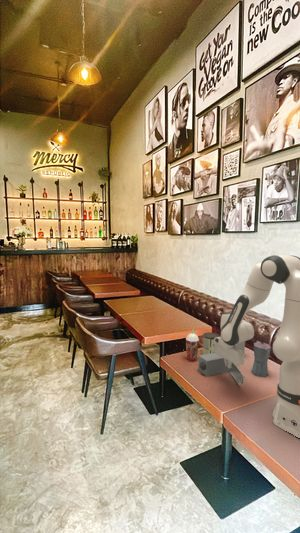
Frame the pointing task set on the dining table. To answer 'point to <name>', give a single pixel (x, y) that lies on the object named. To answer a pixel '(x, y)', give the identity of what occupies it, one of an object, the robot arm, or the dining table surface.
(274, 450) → the dining table surface
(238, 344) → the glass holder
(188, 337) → the smoothie
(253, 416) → the dining table surface
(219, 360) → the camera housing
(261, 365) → the moka pot
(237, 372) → the side door
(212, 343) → the coffee can
